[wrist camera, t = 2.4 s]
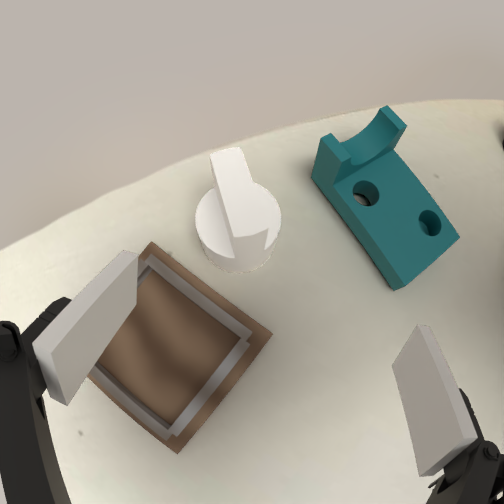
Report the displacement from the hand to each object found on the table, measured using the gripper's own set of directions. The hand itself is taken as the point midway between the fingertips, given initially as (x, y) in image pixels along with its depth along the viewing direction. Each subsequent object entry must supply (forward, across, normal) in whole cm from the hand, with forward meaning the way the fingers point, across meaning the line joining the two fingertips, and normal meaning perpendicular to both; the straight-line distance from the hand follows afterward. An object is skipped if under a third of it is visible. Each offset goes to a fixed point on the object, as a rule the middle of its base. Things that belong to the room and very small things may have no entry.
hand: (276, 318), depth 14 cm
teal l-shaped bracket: (+29, +13, -1) cm, 32 cm away
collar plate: (+14, -9, -18) cm, 25 cm away
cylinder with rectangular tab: (+24, -4, -8) cm, 26 cm away
